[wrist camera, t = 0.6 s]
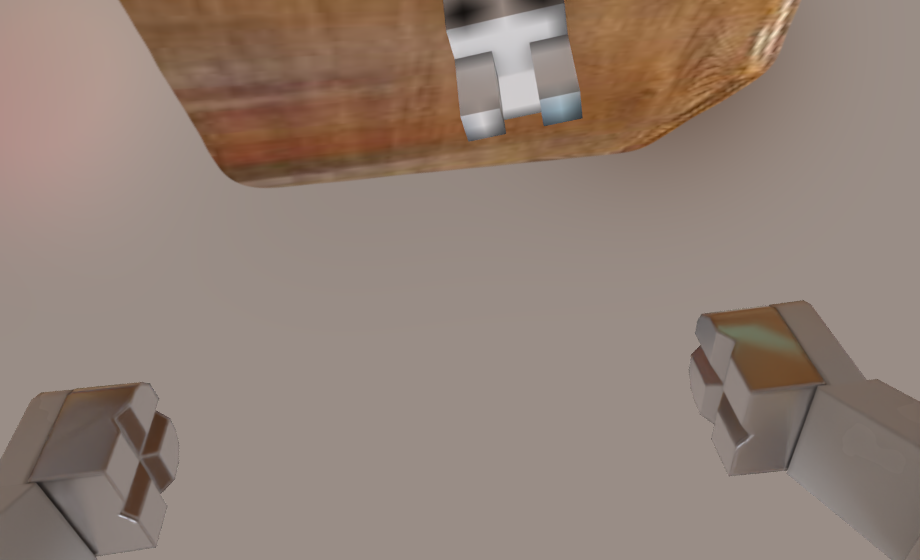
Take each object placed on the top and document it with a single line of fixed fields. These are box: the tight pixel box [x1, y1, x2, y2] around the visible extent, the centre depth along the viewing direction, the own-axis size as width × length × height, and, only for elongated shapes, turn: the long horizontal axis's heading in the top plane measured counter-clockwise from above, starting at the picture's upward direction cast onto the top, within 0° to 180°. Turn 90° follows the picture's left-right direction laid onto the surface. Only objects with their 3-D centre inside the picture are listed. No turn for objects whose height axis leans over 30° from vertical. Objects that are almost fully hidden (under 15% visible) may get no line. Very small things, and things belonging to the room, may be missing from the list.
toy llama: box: [443, 0, 582, 141], centre depth 54 cm, size 8×18×20 cm, turn 12°
